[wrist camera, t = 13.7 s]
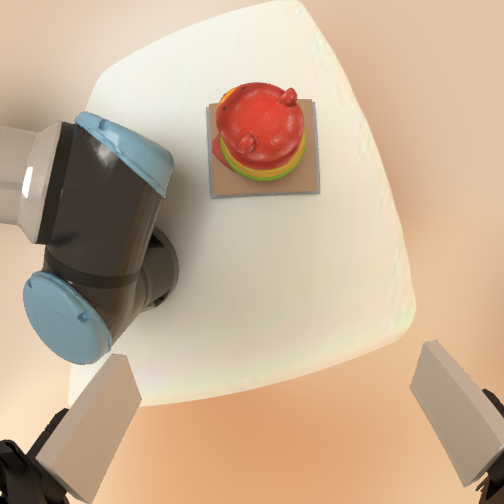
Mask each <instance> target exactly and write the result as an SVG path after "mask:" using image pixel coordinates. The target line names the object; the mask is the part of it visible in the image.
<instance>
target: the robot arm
mask: <svg viewBox="0 0 504 504" xmlns="http://www.w3.org/2000/svg"><path fill="white" fill-rule="evenodd" d="M173 167H174V161H173V158H172V155H171V154H170V153H169V151H167V150H166V149H165V148H163V147H162V146H160V145H158V144H157V143H155V142H153V141H151V140H149V139H148V138H146V137H144V136H142V135H140V134H138V133H136V132H134V131H132V130H129V129H127V128H125V127H123V126H121V125H119V124H116V123H114V122H110V121H109V120H107V119H104V118H101V117H100V116H98V115H95V114H92V113H89V112H81V113H80V114H79V115H78V117H76V118H75V124H71V123H66V122H62V121H57V122H55V123H53V124H52V125H50V126H49V127H47V128H46V129H44V130H43V131H40V132H37V133H36V132H31V131H26V130H21V129H16V128H10V127H4V126H0V223H5V224H13V225H18V226H19V227H20V228H21V229H22V230H23V232H24V233H25V234H26V236H27V237H28V239H29V240H30V241H31V243H34V244H44V245H46V247H45V255H44V263H43V268H42V270H41V271H38V272H35V273H33V274H32V276H31V278H30V279H28V280H27V282H26V284H25V286H24V291H23V301H24V307H25V310H26V313H27V316H28V318H29V321H30V323H31V325H32V327H33V329H34V330H35V331H36V333H37V334H38V336H39V337H40V339H41V340H42V341H43V342H44V343H45V344H46V345H47V346H48V347H49V348H50V349H51V350H52V351H53V352H54V353H56V354H57V355H58V356H60V357H61V358H63V359H65V360H67V361H69V362H71V363H74V364H78V365H85V364H93V363H95V362H97V361H98V360H99V359H100V358H101V357H102V356H103V355H104V354H106V353H108V352H109V351H110V350H111V347H112V345H113V344H114V343H115V342H116V341H117V339H118V338H119V337H120V336H121V334H122V333H123V332H124V331H125V330H126V328H127V327H128V326H129V325H130V324H131V323H132V321H133V320H134V319H135V318H136V317H137V315H138V314H139V313H140V312H143V311H146V310H150V309H153V308H155V307H157V306H159V305H160V304H161V303H163V302H164V301H165V300H166V299H167V297H168V296H169V295H170V294H171V292H172V291H173V289H174V287H175V285H176V282H177V278H178V261H177V257H176V253H175V251H174V248H173V246H172V245H171V243H170V241H169V240H168V239H167V237H166V236H165V235H164V234H163V233H162V232H161V231H160V230H159V229H157V228H156V227H154V225H155V222H156V219H157V216H158V213H159V210H160V207H161V204H162V201H163V199H165V198H166V196H167V194H166V190H167V186H168V183H169V180H170V177H171V174H172V172H173ZM410 390H411V391H412V393H413V395H414V396H415V398H416V400H417V401H418V403H419V405H420V406H421V408H422V410H423V411H424V413H425V415H426V417H427V418H428V420H429V422H430V424H431V425H432V427H433V429H434V431H435V432H436V434H437V436H438V438H439V440H440V442H441V443H442V445H443V447H444V449H445V451H446V453H447V455H448V457H449V459H450V460H451V462H452V464H453V466H454V468H455V470H456V472H457V474H458V476H459V478H460V480H461V482H462V485H463V487H464V488H465V487H467V486H469V485H470V484H472V483H474V482H476V481H477V480H479V479H480V478H481V477H482V475H484V474H485V472H486V471H487V473H488V476H487V477H486V478H485V479H484V480H483V481H482V482H481V483H480V484H479V485H478V486H477V488H476V491H478V490H479V489H480V488H481V487H482V486H483V485H484V487H483V489H482V490H481V491H482V494H481V498H480V501H479V504H504V406H503V404H502V403H500V401H499V399H498V398H497V397H496V396H495V395H494V394H493V393H492V392H490V391H488V390H487V389H483V390H481V389H480V388H479V387H478V386H477V384H476V383H475V382H474V381H473V380H472V379H471V377H470V376H469V375H468V374H467V373H466V372H465V371H464V369H463V368H462V367H461V366H460V365H459V364H458V363H457V361H456V360H455V359H454V358H453V357H452V356H451V355H450V354H449V353H448V352H447V350H446V349H445V348H444V347H443V346H442V345H441V344H440V343H439V342H438V341H437V340H433V341H428V342H424V343H423V346H422V350H421V353H420V357H419V361H418V364H417V367H416V370H415V373H414V376H413V379H412V382H411V385H410ZM141 400H142V398H141V396H140V393H139V391H138V388H137V385H136V383H135V380H134V377H133V374H132V371H131V368H130V365H129V363H128V359H127V356H126V355H119V354H111V356H110V357H109V358H108V360H107V361H106V362H105V363H104V365H103V366H102V367H101V368H100V370H99V371H98V372H97V374H96V375H95V376H94V377H93V379H92V380H91V381H90V383H89V384H88V385H87V387H86V388H85V389H84V391H83V392H82V393H81V395H80V396H79V397H78V399H77V400H76V401H75V403H74V404H73V405H72V407H71V408H70V409H66V408H64V409H63V410H61V411H60V412H58V413H57V414H55V416H54V417H53V419H52V420H51V421H50V424H49V425H47V427H46V428H45V431H43V432H42V433H41V435H40V436H39V437H38V439H37V440H36V442H35V443H34V444H33V446H32V447H31V449H30V450H29V451H28V453H27V454H26V455H25V454H24V453H23V452H22V450H21V449H20V448H19V447H18V446H17V444H16V443H15V442H14V441H12V440H2V441H0V491H1V492H2V495H1V496H0V504H69V501H68V499H67V497H66V496H65V494H66V493H67V491H68V492H69V493H70V494H71V495H72V496H73V497H74V498H76V499H78V500H80V501H82V502H84V503H87V504H92V502H93V499H94V497H95V495H96V493H97V491H98V489H99V486H100V484H101V482H102V480H103V478H104V476H105V474H106V472H107V469H108V467H109V465H110V463H111V461H112V459H113V457H114V455H115V452H116V451H117V449H118V447H119V444H120V442H121V440H122V438H123V436H124V434H125V432H126V430H127V428H128V426H129V424H130V422H131V420H132V418H133V416H134V414H135V412H136V410H137V408H138V406H139V404H140V402H141Z"/></svg>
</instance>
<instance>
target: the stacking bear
mask: <svg viewBox="0 0 504 504" xmlns="http://www.w3.org/2000/svg"><path fill="white" fill-rule="evenodd" d="M216 125H217V129H218V131H219V134H218V135H217V137H216V138H215V139H214V140H213V142H212V143H213V147H212V151H213V153H214V155H215V156H216V157H217V158H218V159H219V160H220V161H221V162H222V163H223V164H224V165H225V166H226V167H228V168H229V169H231V170H232V171H234V172H236V173H238V174H240V175H241V176H243V177H245V178H248V179H251V180H255V181H272V180H276V179H279V178H282V177H284V176H286V175H287V174H289V173H290V172H291V171H292V170H293V169H295V168H296V166H297V165H298V164H299V162H300V161H301V159H302V157H303V155H304V152H305V148H306V131H305V127H304V117H303V113H302V110H301V108H300V106H299V104H298V103H297V94H296V92H295V90H294V89H293V88H289V89H288V90H286V91H284V90H282V89H281V88H279V87H277V86H274V85H271V84H267V83H259V82H256V83H247V84H243V85H240V86H238V87H235V88H233V89H231V90H230V91H228V92H227V93H226V94H224V95H223V97H222V98H221V100H220V102H219V104H218V107H217V111H216Z"/></svg>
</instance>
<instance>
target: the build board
mask: <svg viewBox="0 0 504 504" xmlns="http://www.w3.org/2000/svg"><path fill="white" fill-rule="evenodd" d="M297 103H298V104H299V106H300V108H301V110H302V113H303V117H304V127H305V131H306V148H305V152H304V155H303V157H302V159H301V161H300V162H299V164H298V165H297V166H296V168H295V169H293V170H292V171H291V172H290V173H289V174H287V175H286V176H284V177H282V178H279V179H276V180H272V181H255V180H251V179H248V178H245V177H243V176H241V175H240V174H238V173H236V172H234V171H232V170H231V169H229V168H228V167H226V166H225V165H224V164H223V163H222V162H221V161H220V160H219V159H218V158H217V157H216V156H215V155H214V153H213V151H212V147H213V143H212V142H213V140H214V139H215V138H216V137H217V135H218V134H219V131H218V129H217V125H216V111H217V107H218V104H219V103H215V104H209V107H206V115H207V140H208V160H209V178H210V194H211V198H225V197H242V196H262V195H290V194H320V173H319V153H318V137H317V123H316V111H315V102H312V100H310V99H297Z"/></svg>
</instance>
